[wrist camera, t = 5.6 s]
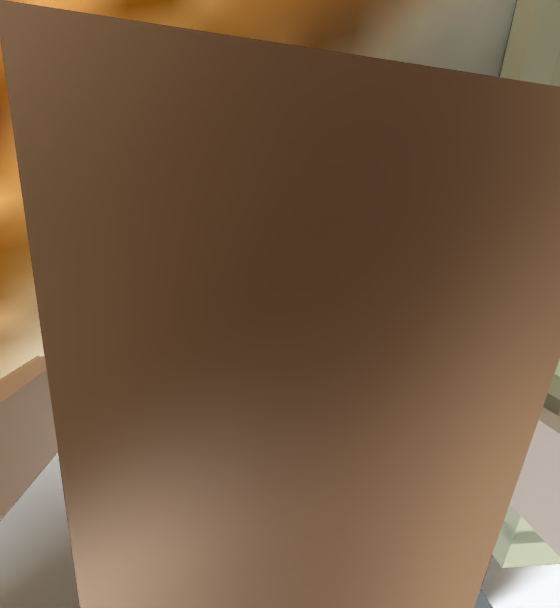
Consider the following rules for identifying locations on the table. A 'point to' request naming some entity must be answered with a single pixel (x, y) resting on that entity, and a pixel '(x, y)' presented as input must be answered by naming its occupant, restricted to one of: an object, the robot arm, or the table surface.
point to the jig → (515, 530)
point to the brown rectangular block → (282, 309)
